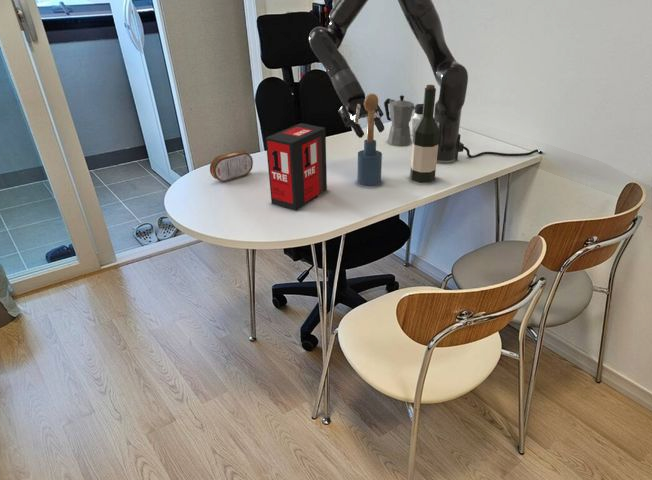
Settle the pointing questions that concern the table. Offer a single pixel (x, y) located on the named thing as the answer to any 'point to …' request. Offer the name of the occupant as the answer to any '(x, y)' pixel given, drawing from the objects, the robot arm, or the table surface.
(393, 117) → the coffeepot
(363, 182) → the bottle
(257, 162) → the table surface
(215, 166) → the tin
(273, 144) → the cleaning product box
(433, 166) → the wine bottle
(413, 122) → the medicine bottle
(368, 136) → the spoon
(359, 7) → the robot arm
